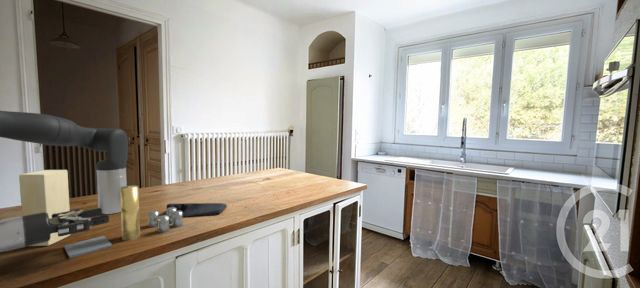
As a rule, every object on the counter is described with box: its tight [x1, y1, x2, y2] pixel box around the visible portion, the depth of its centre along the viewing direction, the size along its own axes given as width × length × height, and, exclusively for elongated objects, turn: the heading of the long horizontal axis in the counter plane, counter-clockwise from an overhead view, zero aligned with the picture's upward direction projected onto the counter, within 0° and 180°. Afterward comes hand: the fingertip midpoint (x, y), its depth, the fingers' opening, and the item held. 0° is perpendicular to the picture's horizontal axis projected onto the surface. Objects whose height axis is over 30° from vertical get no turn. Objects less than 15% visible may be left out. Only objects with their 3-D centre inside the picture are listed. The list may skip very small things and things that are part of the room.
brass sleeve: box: [120, 185, 141, 241], centre depth 82 cm, size 5×5×16 cm
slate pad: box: [63, 235, 113, 259], centre depth 76 cm, size 9×9×1 cm
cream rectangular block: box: [18, 169, 72, 247], centre depth 79 cm, size 8×7×21 cm
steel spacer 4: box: [172, 210, 184, 228], centre depth 92 cm, size 3×3×5 cm
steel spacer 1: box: [147, 210, 160, 228], centre depth 92 cm, size 3×3×5 cm
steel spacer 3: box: [165, 207, 177, 225], centre depth 95 cm, size 3×3×5 cm
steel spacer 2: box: [157, 214, 170, 234], centre depth 87 cm, size 3×3×5 cm
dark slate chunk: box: [166, 202, 228, 218], centre depth 107 cm, size 15×22×5 cm
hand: (104, 214), depth 77 cm, fingers open, 8 cm apart
